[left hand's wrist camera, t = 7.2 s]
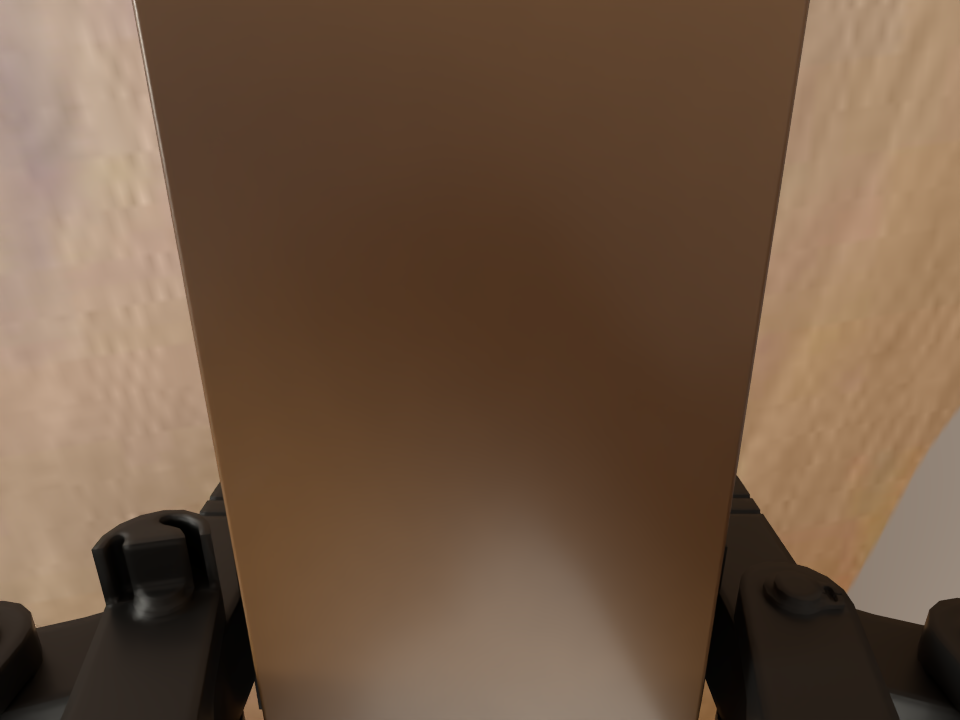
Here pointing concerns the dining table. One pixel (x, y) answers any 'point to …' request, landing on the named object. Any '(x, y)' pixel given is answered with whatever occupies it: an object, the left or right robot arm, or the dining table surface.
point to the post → (475, 333)
